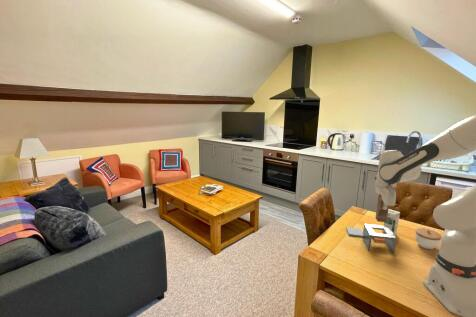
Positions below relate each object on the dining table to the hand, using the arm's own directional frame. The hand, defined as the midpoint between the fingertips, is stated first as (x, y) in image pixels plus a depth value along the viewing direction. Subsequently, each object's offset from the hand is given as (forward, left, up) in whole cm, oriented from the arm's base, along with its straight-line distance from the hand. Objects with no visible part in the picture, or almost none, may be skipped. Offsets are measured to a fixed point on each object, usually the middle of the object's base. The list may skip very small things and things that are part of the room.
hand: (382, 206), depth 123 cm
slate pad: (+11, +9, -23) cm, 27 cm away
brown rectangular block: (0, 0, -8) cm, 8 cm away
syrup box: (+14, -10, -23) cm, 28 cm away
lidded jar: (+6, -25, -23) cm, 34 cm away
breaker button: (0, 0, -19) cm, 19 cm away
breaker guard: (0, 0, -23) cm, 23 cm away
